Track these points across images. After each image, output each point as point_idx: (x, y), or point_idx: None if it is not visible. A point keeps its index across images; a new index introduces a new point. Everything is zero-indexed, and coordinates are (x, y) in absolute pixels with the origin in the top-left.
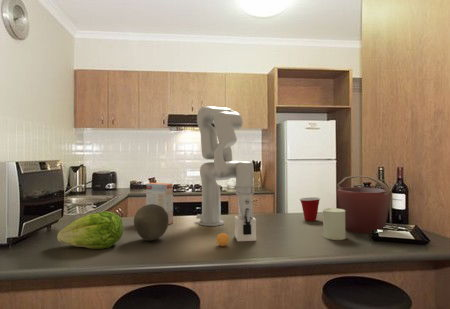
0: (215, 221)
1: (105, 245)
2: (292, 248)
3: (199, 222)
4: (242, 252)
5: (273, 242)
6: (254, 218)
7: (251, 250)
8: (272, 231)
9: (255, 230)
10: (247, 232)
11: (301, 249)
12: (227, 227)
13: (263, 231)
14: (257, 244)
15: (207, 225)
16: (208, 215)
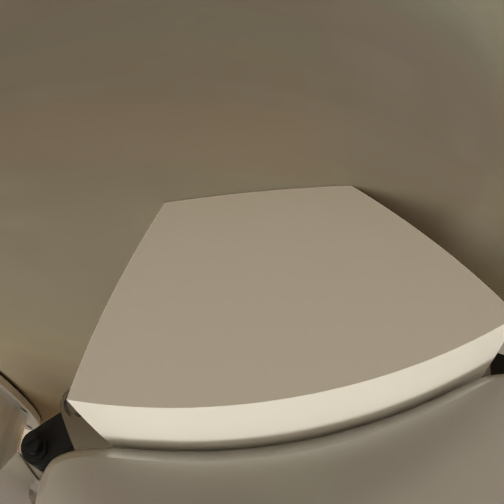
0: (2, 400)
1: None
2: (496, 26)
3: (29, 429)
4: (489, 286)
5: (411, 54)
6: (469, 351)
7: (491, 247)
8: (29, 19)
9: (405, 228)
10: None
11: (499, 2)
12: (5, 350)
13: (17, 95)
14: (436, 195)
15: (37, 415)
16: (14, 443)
